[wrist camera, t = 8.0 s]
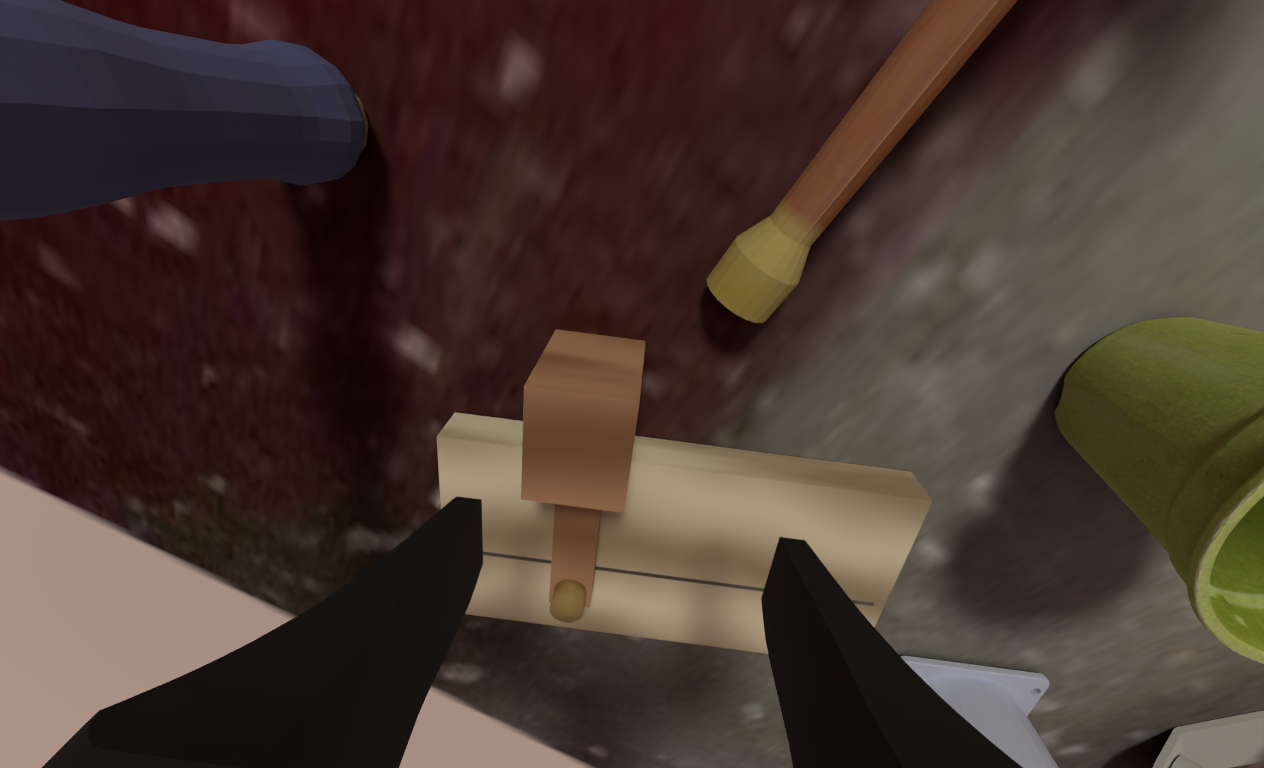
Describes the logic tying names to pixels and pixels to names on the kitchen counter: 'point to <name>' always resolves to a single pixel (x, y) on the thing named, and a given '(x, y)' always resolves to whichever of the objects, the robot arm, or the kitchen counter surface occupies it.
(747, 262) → the hammer
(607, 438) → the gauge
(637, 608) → the board
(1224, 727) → the clamp
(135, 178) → the rubber mallet
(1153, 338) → the plant pot
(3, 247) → the kitchen counter surface
